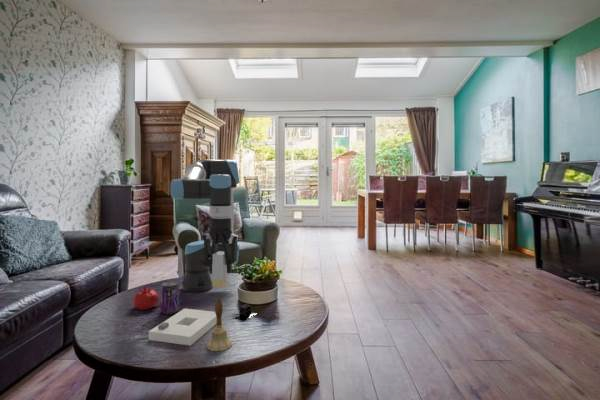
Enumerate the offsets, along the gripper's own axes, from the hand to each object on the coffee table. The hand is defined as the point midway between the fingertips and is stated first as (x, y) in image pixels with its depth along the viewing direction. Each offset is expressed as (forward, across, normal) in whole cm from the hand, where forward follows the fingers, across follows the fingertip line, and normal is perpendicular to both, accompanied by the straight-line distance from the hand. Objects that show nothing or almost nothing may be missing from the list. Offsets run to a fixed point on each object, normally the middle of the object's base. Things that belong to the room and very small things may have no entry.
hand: (220, 280), depth 128 cm
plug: (+2, 0, 0) cm, 2 cm away
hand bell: (+18, +5, -12) cm, 22 cm away
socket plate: (+18, -12, -3) cm, 22 cm away
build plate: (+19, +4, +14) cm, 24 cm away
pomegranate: (+19, -41, +13) cm, 47 cm away
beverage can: (+19, -28, +11) cm, 35 cm away
